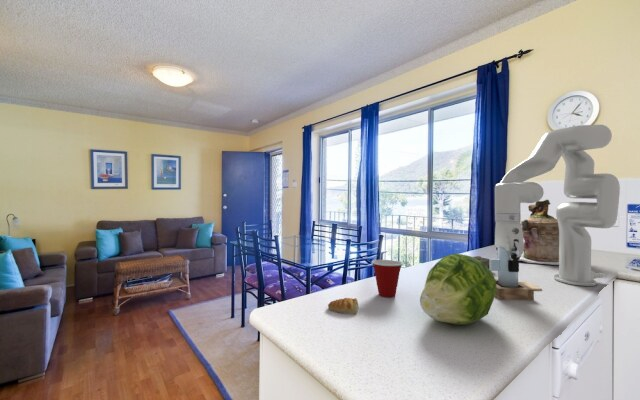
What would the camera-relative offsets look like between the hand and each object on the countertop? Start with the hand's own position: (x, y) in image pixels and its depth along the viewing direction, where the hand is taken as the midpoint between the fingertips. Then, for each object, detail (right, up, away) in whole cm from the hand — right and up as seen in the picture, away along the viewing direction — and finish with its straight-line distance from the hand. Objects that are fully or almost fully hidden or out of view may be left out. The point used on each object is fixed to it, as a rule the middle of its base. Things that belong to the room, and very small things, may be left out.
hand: (507, 268), depth 101 cm
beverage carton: (+1, -9, +27) cm, 28 cm away
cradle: (0, -9, 0) cm, 9 cm away
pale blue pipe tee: (0, -6, 0) cm, 6 cm away
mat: (+11, -9, +8) cm, 16 cm away
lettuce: (-28, -10, -20) cm, 36 cm away
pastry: (-58, -10, -12) cm, 61 cm away
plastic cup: (-42, -10, +1) cm, 43 cm away
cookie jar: (+50, -8, +49) cm, 71 cm away
